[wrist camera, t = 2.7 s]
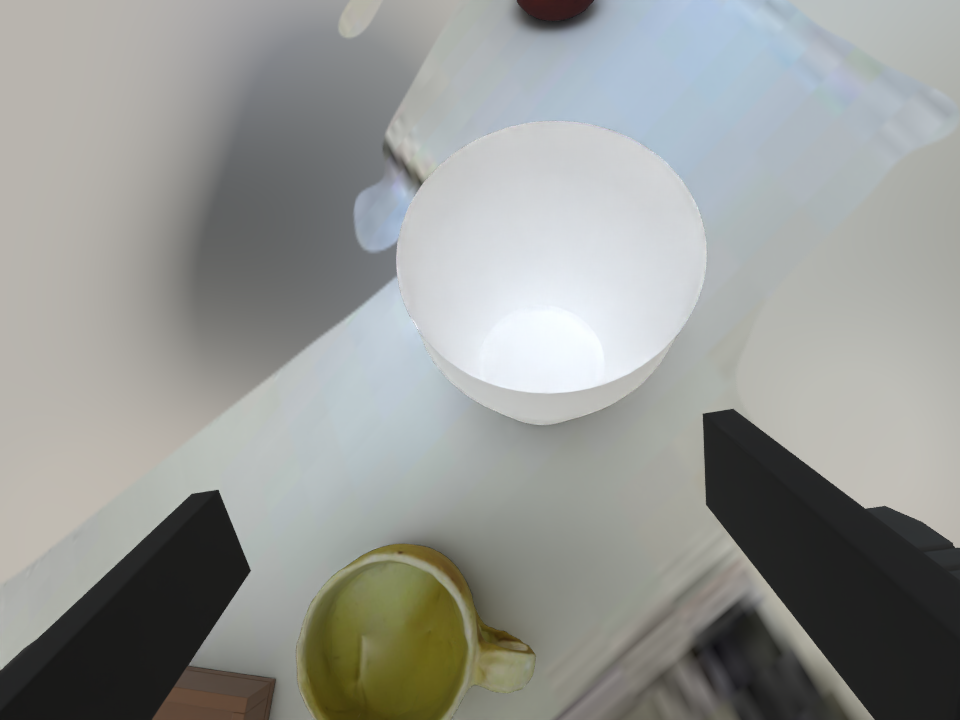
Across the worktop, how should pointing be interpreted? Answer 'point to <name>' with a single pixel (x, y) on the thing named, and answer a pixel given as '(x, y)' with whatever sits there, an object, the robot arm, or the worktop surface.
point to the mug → (401, 641)
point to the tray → (217, 696)
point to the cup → (551, 267)
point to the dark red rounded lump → (554, 8)
